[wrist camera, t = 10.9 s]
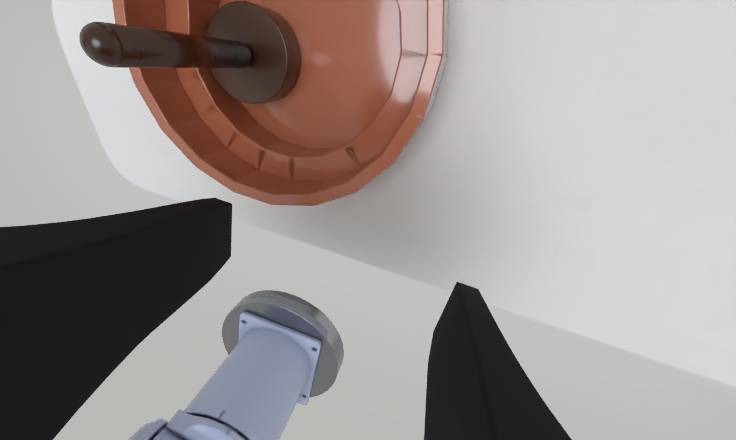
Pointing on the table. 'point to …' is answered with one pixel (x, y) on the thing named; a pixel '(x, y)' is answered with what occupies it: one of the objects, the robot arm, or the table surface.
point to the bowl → (302, 95)
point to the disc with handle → (211, 50)
